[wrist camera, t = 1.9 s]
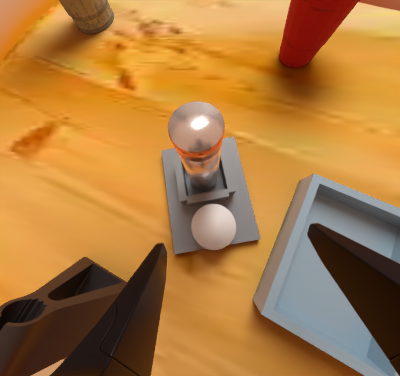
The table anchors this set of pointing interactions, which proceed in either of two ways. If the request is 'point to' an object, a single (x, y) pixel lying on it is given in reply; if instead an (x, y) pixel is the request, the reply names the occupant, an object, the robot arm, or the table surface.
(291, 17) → the plastic cup
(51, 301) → the phone stand
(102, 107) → the table surface
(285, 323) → the tray
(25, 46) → the table surface
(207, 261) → the table surface
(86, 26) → the thermos
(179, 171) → the plate
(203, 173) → the salt shaker
